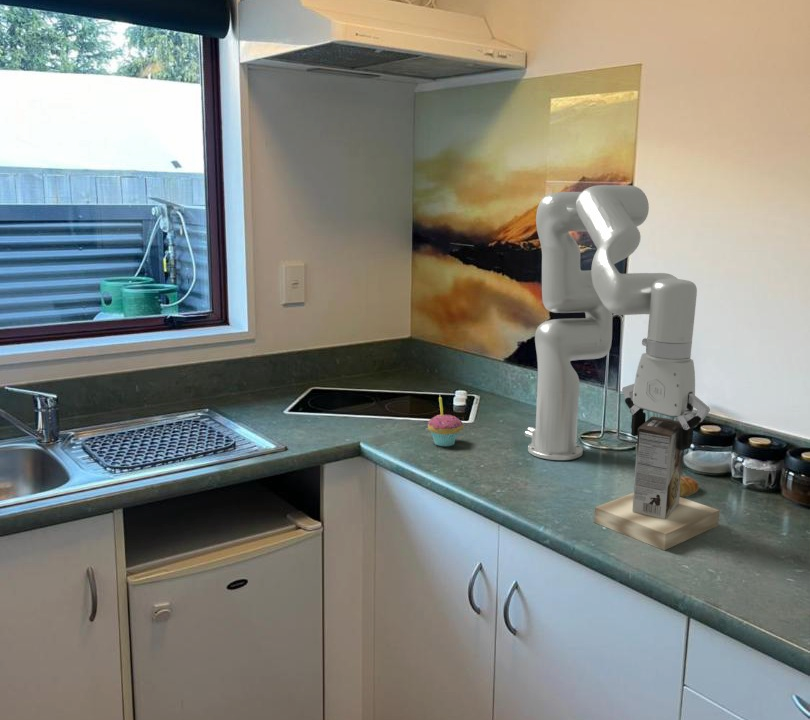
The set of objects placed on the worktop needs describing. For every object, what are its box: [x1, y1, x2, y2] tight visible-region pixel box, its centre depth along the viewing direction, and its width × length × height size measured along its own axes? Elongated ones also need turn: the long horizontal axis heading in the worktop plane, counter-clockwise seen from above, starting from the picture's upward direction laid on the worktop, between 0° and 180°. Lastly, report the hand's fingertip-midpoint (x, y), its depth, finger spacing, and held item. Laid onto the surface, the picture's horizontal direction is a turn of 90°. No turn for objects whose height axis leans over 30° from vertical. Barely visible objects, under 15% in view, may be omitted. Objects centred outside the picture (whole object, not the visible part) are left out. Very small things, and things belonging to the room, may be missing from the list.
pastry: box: [680, 475, 699, 498], centre depth 164 cm, size 9×7×4 cm
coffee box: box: [632, 416, 684, 519], centre depth 146 cm, size 9×6×16 cm
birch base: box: [593, 492, 721, 551], centre depth 148 cm, size 15×17×3 cm
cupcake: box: [427, 393, 464, 447], centre depth 193 cm, size 9×8×12 cm
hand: (660, 441), depth 145 cm, fingers open, 9 cm apart
